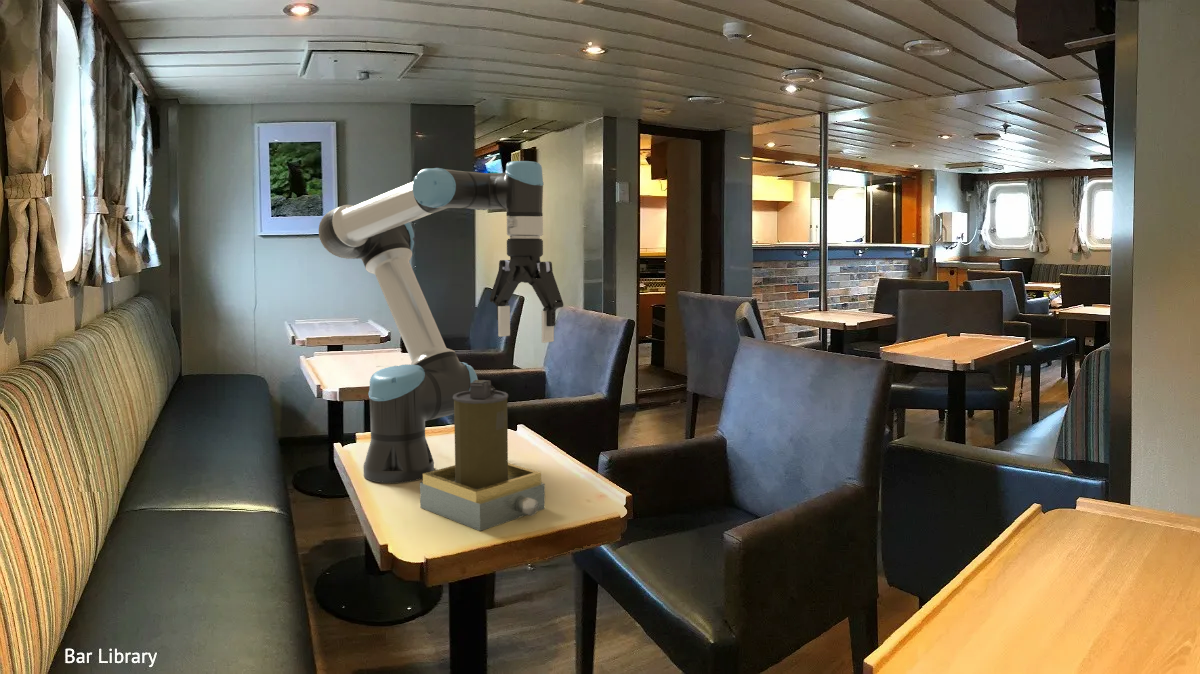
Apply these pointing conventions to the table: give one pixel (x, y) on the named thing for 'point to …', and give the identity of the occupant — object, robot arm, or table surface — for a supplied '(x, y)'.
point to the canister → (481, 435)
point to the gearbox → (483, 497)
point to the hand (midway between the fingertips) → (525, 339)
